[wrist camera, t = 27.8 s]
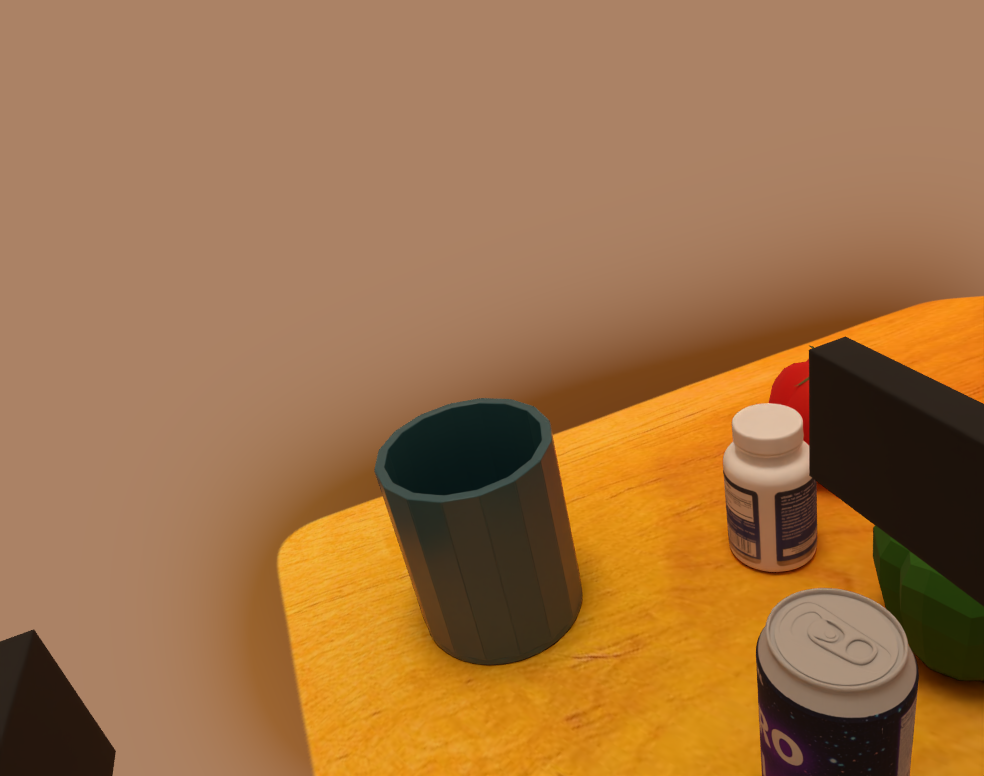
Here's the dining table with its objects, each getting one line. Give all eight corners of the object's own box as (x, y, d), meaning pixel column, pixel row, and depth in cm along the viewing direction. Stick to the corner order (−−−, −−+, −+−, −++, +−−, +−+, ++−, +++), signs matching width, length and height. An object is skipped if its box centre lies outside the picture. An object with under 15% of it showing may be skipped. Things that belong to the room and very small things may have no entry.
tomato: (784, 417, 62) (782, 324, 58) (929, 434, 57) (938, 333, 53) (753, 485, 56) (748, 385, 52) (913, 512, 50) (921, 402, 46)
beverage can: (807, 744, 38) (806, 560, 32) (927, 821, 34) (949, 626, 28) (739, 826, 35) (724, 642, 30) (860, 921, 31) (870, 728, 25)
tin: (399, 649, 49) (342, 492, 43) (464, 540, 57) (424, 396, 51) (553, 679, 44) (513, 509, 39) (600, 556, 53) (573, 400, 47)
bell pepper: (1096, 687, 38) (1136, 528, 33) (930, 723, 38) (946, 570, 33) (984, 571, 45) (1003, 428, 40) (845, 601, 45) (848, 462, 40)
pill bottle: (816, 521, 51) (816, 396, 47) (818, 578, 47) (818, 446, 42) (731, 516, 53) (723, 396, 49) (725, 571, 49) (716, 444, 44)
